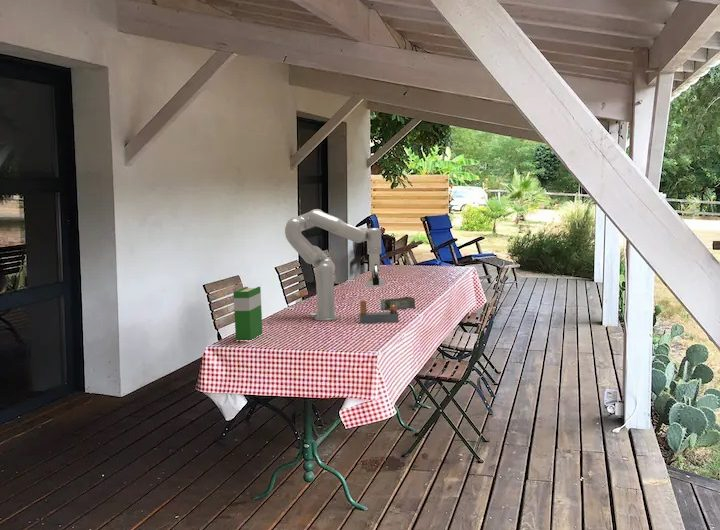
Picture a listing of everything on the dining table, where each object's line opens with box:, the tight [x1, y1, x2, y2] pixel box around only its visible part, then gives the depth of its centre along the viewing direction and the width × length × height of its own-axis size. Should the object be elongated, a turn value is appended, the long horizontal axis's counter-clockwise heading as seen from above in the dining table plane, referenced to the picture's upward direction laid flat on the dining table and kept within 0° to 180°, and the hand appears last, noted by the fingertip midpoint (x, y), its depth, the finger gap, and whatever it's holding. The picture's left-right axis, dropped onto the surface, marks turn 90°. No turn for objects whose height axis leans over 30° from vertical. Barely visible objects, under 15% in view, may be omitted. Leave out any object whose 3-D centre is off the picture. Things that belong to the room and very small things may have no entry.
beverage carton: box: [380, 296, 416, 311], centre depth 417 cm, size 8×19×7 cm, turn 107°
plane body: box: [358, 300, 400, 324], centre depth 377 cm, size 20×7×12 cm, turn 95°
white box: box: [365, 276, 386, 288], centre depth 386 cm, size 10×5×4 cm, turn 95°
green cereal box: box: [233, 286, 264, 341], centre depth 344 cm, size 18×7×24 cm, turn 170°
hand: (375, 284), depth 386 cm, fingers closed on white box, 5 cm apart
